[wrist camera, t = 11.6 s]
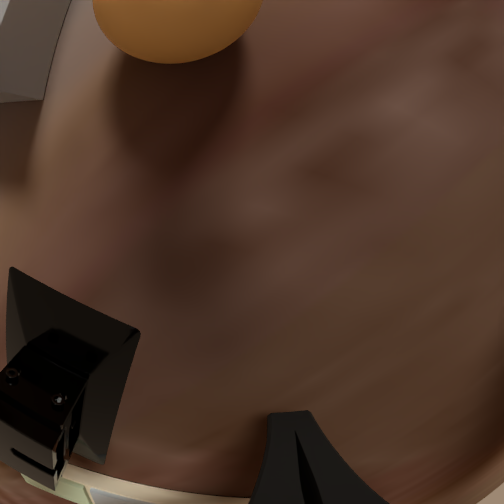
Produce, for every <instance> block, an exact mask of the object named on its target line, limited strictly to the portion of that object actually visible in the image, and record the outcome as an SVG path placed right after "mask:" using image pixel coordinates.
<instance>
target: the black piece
mask: <svg viewBox="0 0 504 504" xmlns="http://www.w3.org/2000/svg"><path fill="white" fill-rule="evenodd" d="M140 335H141V334H140V331H139V330H138V329H136V328H134V327H132V326H130V325H127V324H125V323H123V322H120V321H118V320H116V319H114V318H111V317H109V316H107V315H105V314H103V313H101V312H98V311H96V310H94V309H92V308H90V307H88V306H86V305H84V304H82V303H80V302H78V301H76V300H74V299H72V298H70V297H68V296H66V295H64V294H62V293H60V292H58V291H56V290H54V289H52V288H50V287H48V286H47V285H45V284H43V283H41V282H39V281H37V280H35V279H34V278H32V277H30V276H28V275H26V274H25V273H23V272H21V271H19V270H18V269H16V268H14V267H10V269H9V278H8V291H7V312H6V350H7V365H6V366H5V368H4V369H3V370H2V371H1V372H0V460H1V461H2V462H4V463H5V464H7V465H9V466H10V467H12V468H13V469H15V470H17V471H18V472H20V473H22V474H23V475H25V476H27V477H29V478H30V479H32V480H34V481H36V482H38V483H40V484H41V485H43V486H45V487H47V488H49V489H51V490H53V491H55V490H56V487H57V485H58V482H59V480H60V478H61V477H62V476H63V474H64V471H65V469H66V466H67V464H68V462H69V459H70V457H71V455H72V452H74V453H76V454H78V455H81V456H83V457H85V458H87V459H89V460H92V461H94V462H96V463H99V464H102V465H103V464H104V462H105V458H106V454H107V450H108V446H109V442H110V438H111V434H112V430H113V426H114V422H115V419H116V415H117V411H118V408H119V404H120V401H121V397H122V394H123V390H124V387H125V383H126V380H127V377H128V373H129V370H130V367H131V363H132V360H133V357H134V354H135V351H136V348H137V345H138V341H139V338H140Z"/></svg>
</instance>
